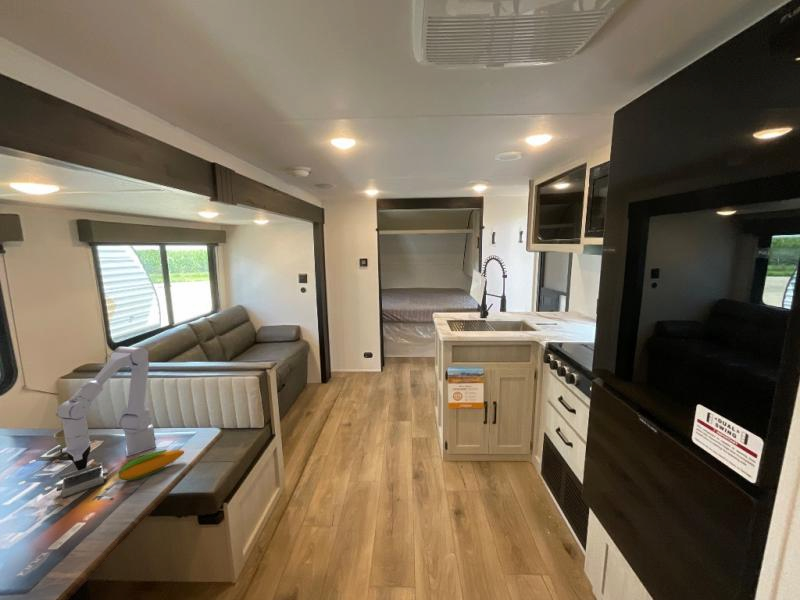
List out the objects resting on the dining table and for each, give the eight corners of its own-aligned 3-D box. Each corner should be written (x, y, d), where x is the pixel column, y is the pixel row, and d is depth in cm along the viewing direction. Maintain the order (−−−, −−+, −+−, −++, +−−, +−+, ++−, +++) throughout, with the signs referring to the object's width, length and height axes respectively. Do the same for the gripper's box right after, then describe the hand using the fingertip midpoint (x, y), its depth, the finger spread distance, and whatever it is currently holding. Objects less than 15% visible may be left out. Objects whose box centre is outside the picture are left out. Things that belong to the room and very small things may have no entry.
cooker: (108, 471, 120) (107, 464, 120) (108, 482, 115) (107, 474, 114) (59, 488, 112) (57, 480, 111) (57, 500, 106) (55, 492, 106)
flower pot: (87, 436, 142) (84, 421, 141) (92, 444, 136) (90, 429, 135) (54, 447, 134) (51, 432, 133) (59, 456, 128) (56, 440, 127)
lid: (102, 465, 119) (101, 459, 120) (101, 467, 113) (100, 460, 114) (63, 478, 112) (63, 471, 113) (60, 480, 106) (59, 473, 107)
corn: (116, 460, 115) (181, 437, 130) (118, 478, 117) (182, 453, 131) (118, 471, 110) (185, 446, 125) (120, 490, 112) (187, 463, 126)
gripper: (61, 429, 113) (67, 463, 116) (58, 448, 103) (64, 485, 105) (89, 422, 118) (94, 455, 120) (88, 439, 108) (93, 475, 110)
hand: (82, 468), depth 113 cm, fingers closed, pressing on lid
